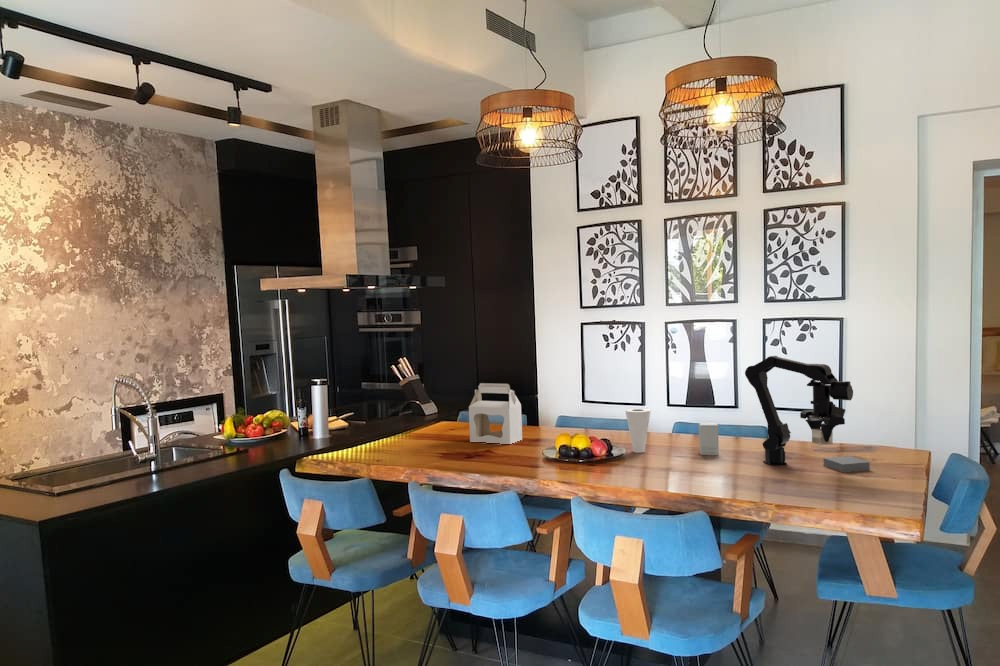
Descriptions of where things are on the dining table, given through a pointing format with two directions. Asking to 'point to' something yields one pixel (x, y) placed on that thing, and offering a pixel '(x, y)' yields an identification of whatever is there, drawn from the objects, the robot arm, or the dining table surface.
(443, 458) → the dining table surface
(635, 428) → the cup
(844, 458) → the base
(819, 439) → the cube
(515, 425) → the gable box
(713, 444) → the supplement box
